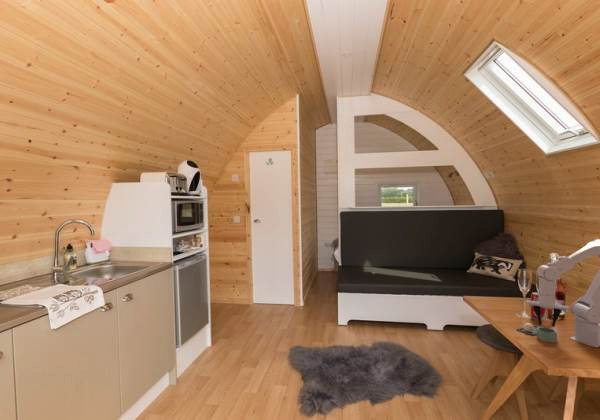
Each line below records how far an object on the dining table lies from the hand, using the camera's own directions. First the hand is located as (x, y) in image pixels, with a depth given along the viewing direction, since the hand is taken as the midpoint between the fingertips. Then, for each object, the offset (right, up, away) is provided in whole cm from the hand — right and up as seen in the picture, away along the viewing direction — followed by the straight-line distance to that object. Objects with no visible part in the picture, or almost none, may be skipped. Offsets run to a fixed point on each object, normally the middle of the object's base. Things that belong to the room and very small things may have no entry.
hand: (546, 324), depth 141 cm
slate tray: (0, -6, +9) cm, 11 cm away
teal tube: (0, -6, 0) cm, 6 cm away
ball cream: (-2, -6, +8) cm, 10 cm away
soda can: (+14, -6, +24) cm, 29 cm away
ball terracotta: (0, -1, 0) cm, 1 cm away
